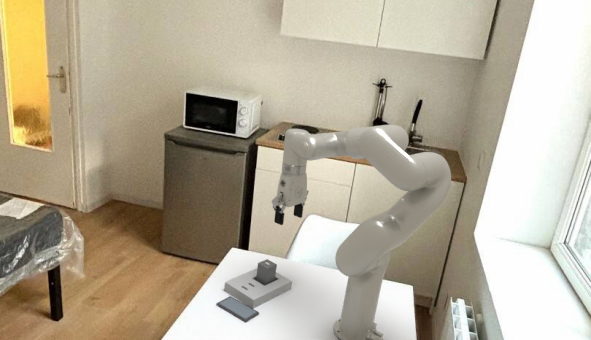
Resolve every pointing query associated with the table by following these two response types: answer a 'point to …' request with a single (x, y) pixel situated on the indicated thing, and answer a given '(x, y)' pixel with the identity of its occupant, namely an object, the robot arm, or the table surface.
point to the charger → (266, 272)
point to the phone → (237, 309)
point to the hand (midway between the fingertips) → (288, 220)
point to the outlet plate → (256, 288)
